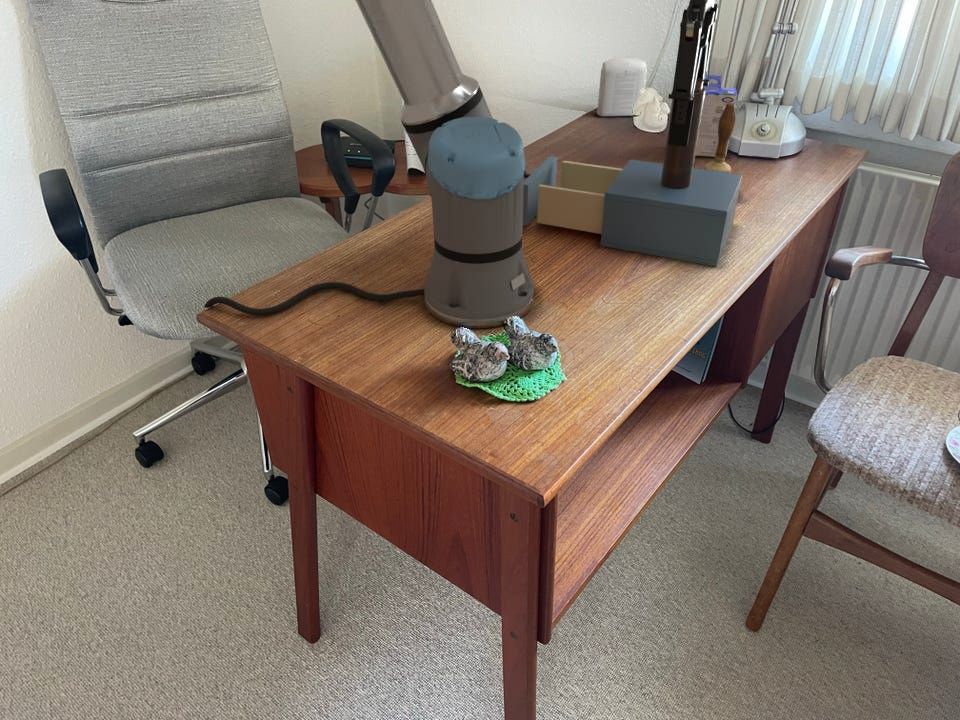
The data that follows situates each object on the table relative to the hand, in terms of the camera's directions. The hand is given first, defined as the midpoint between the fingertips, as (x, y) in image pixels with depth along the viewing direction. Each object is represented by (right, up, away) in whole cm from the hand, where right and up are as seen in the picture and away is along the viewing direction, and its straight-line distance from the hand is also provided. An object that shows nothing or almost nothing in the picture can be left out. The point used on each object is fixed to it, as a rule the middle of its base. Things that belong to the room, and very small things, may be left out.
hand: (682, 137), depth 107 cm
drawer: (-15, -8, +14) cm, 22 cm away
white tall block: (+2, +24, +60) cm, 65 cm away
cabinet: (0, -13, +9) cm, 16 cm away
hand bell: (+12, -4, +22) cm, 25 cm away
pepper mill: (0, -6, +4) cm, 7 cm away
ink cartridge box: (+15, +9, +39) cm, 43 cm away
